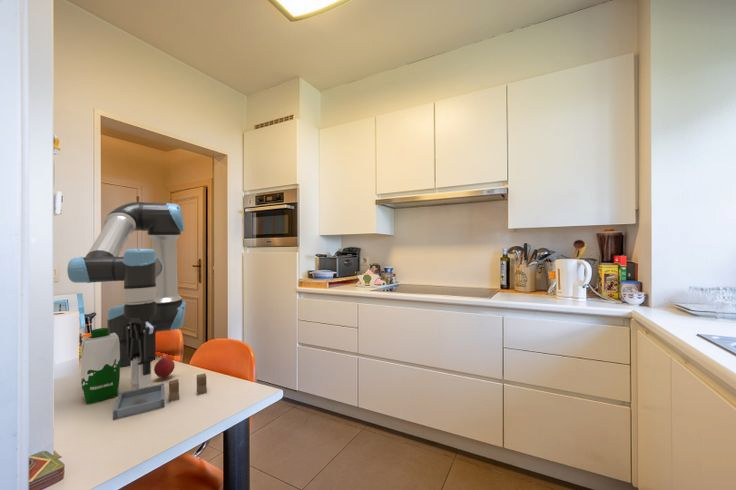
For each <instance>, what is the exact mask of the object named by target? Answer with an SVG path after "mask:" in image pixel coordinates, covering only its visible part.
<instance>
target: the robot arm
mask: <svg viewBox="0 0 736 490" xmlns="http://www.w3.org/2000/svg"><path fill="white" fill-rule="evenodd" d="M103 223H104V224H103V225H104V226H103V228H102V230H101V231H100V233H99V234H98V236H97V238H96V239H95V241H94V243H93V244H92V246H91V247H90V249H89V251H88V252H87V254H86V255H85V256H78V257H73V258H71V259H70V260H69V261H68V264H67V268H66V269H67V272H66V273H67V276H68V279H69V280H70V282H73V283H74V284H75V283H76V284H79V283H82V284H83V283H87V284H90V283H103V282H123V303H124V304H123V303H122V304H119V305H115V306H112V307H110V308H109V309H108V311H107V318H106V321H107V322H106V323H107V328H108V334H109V333H110V334H111V333H115V334H117V335H118V337H119V343H120V346H119V348H120V368H122V367H128V366H130V383H131V382H132V380H133V378H134V369H133V367H134V365H133V364H132V362H133V359H134V358H135V359H136V357H138V358H140V361H141V362H140V363H138V365H139V389H140V388H145V387H149V386H152V362H153V361H156V348H157V347H156V334H157V332H167V331H169V332H171V331H173V330H179V329H181V328H182V327H183V325H184V322H185V316H186V315H185V314H186V310H187V309H186V308H187V307H186V306H187V302H186V301H184V300H183V297H182V296H180V295H179V292H178V291H179V290H178V289H179V288H178V247H177V246H178V245H177V244H178V242H177V239H178V238H180V237H181V234H182V233H181V232H184V231H185V229H186V228H185V221H184V214H183V210H182V208H181V206H180V205H179V204H177V203H171V202H170V203H169V202H148V201H147V202H143V201H133V202H129V203H126V204H122V205H120V206H118V207H115V208H114V209H113V210H112V211H110V212H109V213H108V214H107V216H106V217H105V218H104V222H103ZM136 231H142V232H145V231H147V237H149V238H150V239H151V242H152V243H151V246H152V247H151V248H128V249H125V250H124V252H123V256H121V255H120V254H121V253H122V250H123V248H124V246H125V244H126V242H127V240H128V238H129V236H130V235H132V234H133V233H134V232H136Z"/></svg>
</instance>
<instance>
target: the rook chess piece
mask: <svg viewBox="0 0 736 490" xmlns="http://www.w3.org/2000/svg"><path fill="white" fill-rule="evenodd" d="M140 362H141V361H140V358H138V357H136V359H135V358H134V359H133V362H132V364H133V365H134V367H133V369H134V378H133V380H132V382H131V381H130V385H131V388H132V389H133V390H136V389H140V388H139V365H138V363H140Z"/></svg>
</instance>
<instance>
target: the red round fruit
mask: <svg viewBox="0 0 736 490" xmlns="http://www.w3.org/2000/svg"><path fill="white" fill-rule="evenodd" d="M175 364H176V363H175V362H174V361H173V359H171V358H170V357H168V355H167V354H163V356H162V357H161V358H160V359H158V360H157V362H156V363H155V365H154V369H153V370H154V374H155V375H156V376H157V377H159V378H160V379H167V378H168V377H169V376H170V375H171V374H172V373H173V372H174V369H175V366H176V365H175Z"/></svg>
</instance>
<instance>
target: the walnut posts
mask: <svg viewBox="0 0 736 490" xmlns="http://www.w3.org/2000/svg"><path fill="white" fill-rule="evenodd" d="M207 388H208V387H207V374H206V373H199V374H196V394H197V396H199V395H204V394H207ZM179 400H180V380H179V378H176V379H172V380H169V381H168V402H169V403H170V402H174V401H179Z"/></svg>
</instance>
